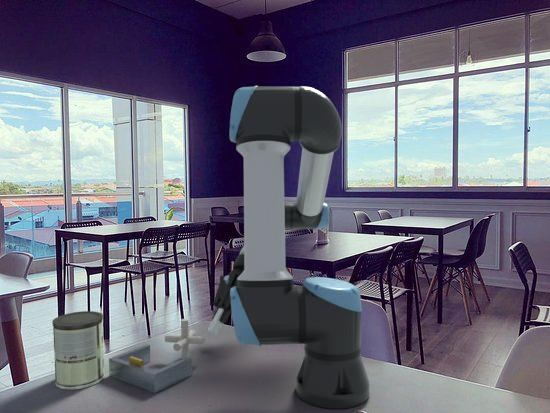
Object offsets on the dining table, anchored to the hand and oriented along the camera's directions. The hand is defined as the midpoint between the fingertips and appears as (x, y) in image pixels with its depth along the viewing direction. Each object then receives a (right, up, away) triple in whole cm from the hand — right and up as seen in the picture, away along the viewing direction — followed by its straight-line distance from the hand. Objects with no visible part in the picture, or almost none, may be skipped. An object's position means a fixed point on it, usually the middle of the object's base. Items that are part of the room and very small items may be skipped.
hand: (212, 332), depth 120 cm
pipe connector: (-6, -5, -8) cm, 11 cm away
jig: (-11, -5, -16) cm, 20 cm away
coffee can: (-27, -6, -19) cm, 33 cm away
